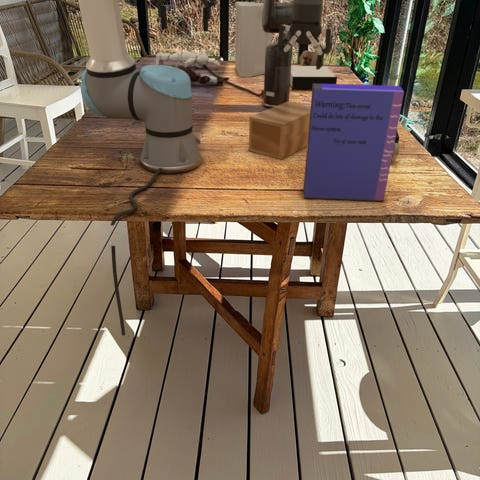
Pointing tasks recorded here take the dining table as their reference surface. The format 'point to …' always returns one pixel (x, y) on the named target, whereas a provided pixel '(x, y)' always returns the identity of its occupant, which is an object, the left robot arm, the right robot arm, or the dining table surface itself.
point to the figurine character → (396, 146)
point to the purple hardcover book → (351, 141)
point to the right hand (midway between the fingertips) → (302, 67)
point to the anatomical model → (308, 58)
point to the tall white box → (250, 39)
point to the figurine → (203, 80)
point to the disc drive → (310, 77)
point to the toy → (186, 59)
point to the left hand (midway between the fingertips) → (184, 30)
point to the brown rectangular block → (279, 130)
